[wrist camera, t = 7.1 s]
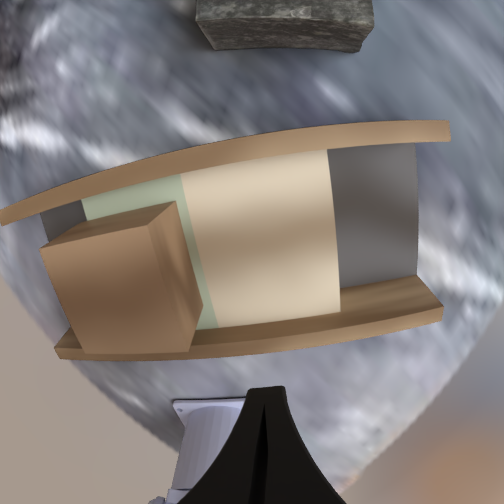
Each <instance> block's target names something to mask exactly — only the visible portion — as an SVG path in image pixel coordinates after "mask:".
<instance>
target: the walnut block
mask: <svg viewBox="0 0 504 504" xmlns="http://www.w3.org/2000/svg"><path fill="white" fill-rule="evenodd" d="M39 251H40V254H41V256H42V259H43V262H44V265H45V267H46V270H47V272H48V275H49V277H50V280H51V282H52V285H53V287H54V290H55V292H56V294H57V297H58V299H59V301H60V303H61V306H62V308H63V310H64V312H65V314H66V316H67V319H68V321H69V323H70V325H71V327H72V329H73V331H74V333H75V335H76V337H77V339H78V341H79V343H80V344H81V346H82V348H83V350H84V352H85V354H148V353H174V352H188V351H189V348H190V345H191V342H192V339H193V336H194V333H195V330H196V327H197V324H198V321H199V318H200V315H201V312H202V309H203V306H204V305H203V302H202V298H201V295H200V291H199V288H198V284H197V281H196V277H195V273H194V270H193V266H192V262H191V259H190V255H189V251H188V247H187V243H186V240H185V236H184V232H183V228H182V224H181V220H180V216H179V211H178V207H177V203H176V201H172V202H167V203H162V204H157V205H153V206H148V207H144V208H139V209H135V210H130V211H126V212H122V213H117V214H113V215H109V216H105V217H101V218H97V219H93V220H89V221H85V222H81V223H79V224H77V225H76V226H74V227H72V228H71V229H69V230H68V231H66V232H64V233H63V234H61V235H60V236H58V237H56V238H55V239H53V240H52V241H50V242H49V243H47V244H46V245H44V246H43V247H41V248H40V249H39Z"/></svg>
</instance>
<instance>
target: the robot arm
mask: <svg viewBox="0 0 504 504" xmlns="http://www.w3.org/2000/svg"><path fill="white" fill-rule="evenodd" d="M173 407H174V409H175V411H176V413H177V415H178V416H179V418H180V420H181V422H182V423H183V425H184V427H185V432H184V436H183V440H182V444H181V448H180V452H179V457H178V461H177V465H176V469H175V474H174V478H173V482H172V487H171V489H168V494H167V498H166V502H165V498H163V497H160V496H158V497H156V499H153V500H151V501H150V502H149V503H148V504H346V503H345V501H344V500H343V499H342V498H341V497H340V496H339V495H338V493H337V492H336V491H335V490H334V488H333V487H332V486H331V484H330V483H329V482H328V481H327V479H326V478H325V477H324V475H323V474H322V472H321V471H320V469H319V468H318V466H317V465H316V463H315V462H314V460H313V458H312V457H311V455H310V453H309V452H308V450H307V448H306V446H305V444H304V442H303V440H302V438H301V436H300V434H299V432H298V430H297V428H296V425H295V423H294V421H293V418H292V415H291V413H290V410H289V406H288V402H287V396H286V390H285V387H284V386H273V387H263V388H252V389H249V390H248V392H247V395H246V398H239V399H220V400H176V401H174V402H173Z"/></svg>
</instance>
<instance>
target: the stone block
mask: <svg viewBox="0 0 504 504" xmlns="http://www.w3.org/2000/svg"><path fill="white" fill-rule="evenodd" d="M196 23H197V24H198V26H199V27H200V29H201V30H202V32H203V33H204V35H205V36H206V38H207V39H208V41H209V42H210V43H211V45H212V47H213V48H214V49H215V50H221V49H224V50H226V49H243V48H315V49H330V50H339V51H343V52H349V53H355V52H359V51H360V49H361V46H362V42H363V41H364V40H365V38H366V37H367V36H368V34H369V33H370V32H371V31H372V30H373V28H374V13H373V6H372V0H197V2H196Z"/></svg>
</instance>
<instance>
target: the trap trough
mask: <svg viewBox="0 0 504 504" xmlns="http://www.w3.org/2000/svg"><path fill="white" fill-rule="evenodd" d="M441 141H451V137H450V127H449V121H446V120H396V121H374V122H358V123H345V124H334V125H324V126H314V127H306V128H298V129H290V130H283V131H276V132H269V133H263V134H257V135H251V136H245V137H239V138H234V139H228V140H223V141H218V142H213V143H208V144H204V145H199V146H194V147H190V148H186V149H181V150H177V151H173V152H169V153H165V154H161V155H157V156H153V157H149V158H146V159H142V160H138V161H135V162H131V163H128V164H124V165H121V166H117V167H114V168H111V169H107V170H104V171H101V172H98V173H95V174H92V175H89V176H86V177H83V178H80V179H77V180H74V181H71V182H68V183H65V184H63V185H60V186H57V187H54V188H52V189H49V190H46V191H44V192H41V193H39V194H36V195H34V196H31V197H29V198H26V199H24V200H22V201H19V202H17V203H15V204H12V205H10V206H8V207H6V208H3V209H1V210H0V223H1V226H4V225H7V224H10V223H12V222H15V221H18V220H20V219H23V218H26V217H29V216H32V215H34V214H37V213H40V215H41V218H42V221H43V225H44V228H45V231H46V234H47V237H48V240H49V242H50V241H52V240H53V239H55V238H56V237H58V236H60V235H61V234H63V233H64V232H66V231H68V230H69V229H71V228H72V227H74V226H76V225H77V224H79V223H81V222H85V221H89V220H93V219H97V218H101V217H105V216H109V215H113V214H117V213H122V212H126V211H130V210H135V209H139V208H144V207H148V206H153V205H157V204H162V203H167V202H172V201H176V203H177V207H178V211H179V216H180V220H181V224H182V228H183V232H184V236H185V240H186V243H187V247H188V251H189V255H190V259H191V262H192V266H193V270H194V273H195V277H196V281H197V284H198V288H199V291H200V295H201V298H202V302H203V305H204V306H203V309H202V312H201V315H200V318H199V321H198V324H197V327H196V330H195V333H194V336H193V339H192V342H191V345H190V348H189V351H188V352H174V353H148V354H85V352H84V350H83V348H82V346H81V344H80V343H79V341H78V339H77V337H76V335H75V333H74V331H73V329H72V327H70V328H69V330H68V331H67V332H66V333H65V334H64V336H63V337H62V338H61V339H60V341H59V342H58V343H57V344H56V346H55V347H54V349H55V351H56V353H57V355H58V356H59V358H60V359H70V360H94V361H162V360H188V359H205V358H220V357H232V356H243V355H253V354H263V353H272V352H280V351H288V350H296V349H303V348H310V347H316V346H323V345H329V344H335V343H341V342H347V341H352V340H358V339H363V338H368V337H373V336H378V335H383V334H388V333H392V332H397V331H401V330H406V329H410V328H414V327H419V326H423V325H427V324H431V323H435V322H438V321H442V315H443V309H444V306H443V305H442V304H441V302H440V301H439V300H438V299H437V298H436V296H435V295H434V294H433V293H432V292H431V291H430V289H429V288H428V287H427V286H426V285H425V284H424V283H423V281H422V280H421V279H420V278H419V277H418V276H417V259H418V179H417V162H416V150H415V142H441Z"/></svg>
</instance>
